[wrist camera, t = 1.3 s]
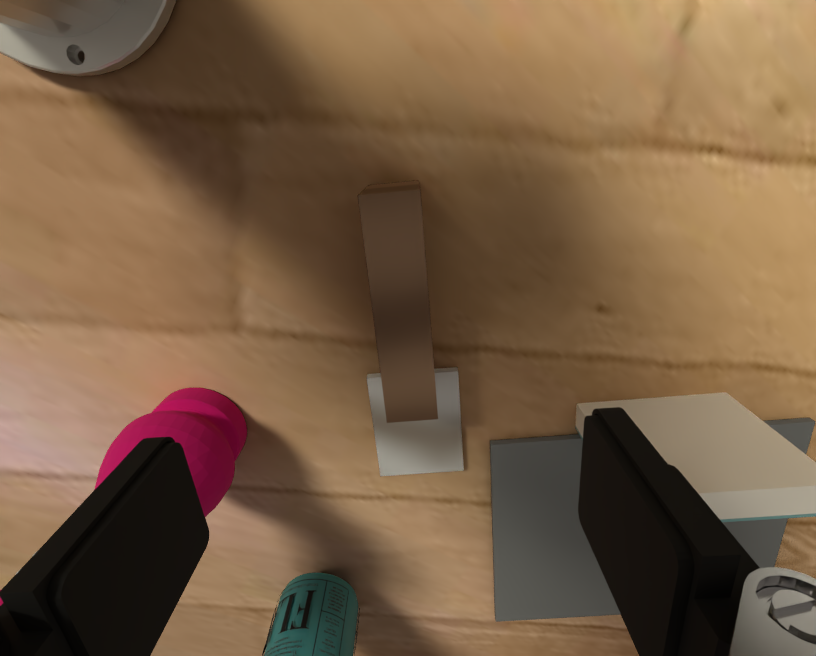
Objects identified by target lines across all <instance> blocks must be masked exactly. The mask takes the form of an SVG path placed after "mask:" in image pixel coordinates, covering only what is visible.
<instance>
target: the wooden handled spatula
mask: <svg viewBox="0 0 816 656" xmlns="http://www.w3.org/2000/svg"><path fill="white" fill-rule="evenodd" d="M358 200H359V208H360V216H361V224H362V232H363V240H364V247H365V255H366V263H367V271H368V279H369V287H370V295H371V302H372V310H373V318H374V326H375V334H376V342H377V350H378V358H379V365H380V373H375V374H367V384H368V391H369V398H370V405H371V412H372V419H373V427H374V434H375V441H376V448H377V455H378V462H379V469H380V476H392V475H406V474H421V473H435V472H450V471H464V467H463V449H462V431H461V413H460V395H459V377H458V368H457V367H451V368H438V369H434V359H433V346H432V333H431V320H430V308H429V295H428V282H427V269H426V256H425V243H424V230H423V217H422V205H421V192H420V186H419V181H418V180H416V181H405V182H394V183H384V184H373V185H369V186H368V187H367V188H365V189H364V190H363V191H362V192H361V193H360V194H359V195H358Z"/></svg>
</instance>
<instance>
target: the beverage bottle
mask: <svg viewBox="0 0 816 656" xmlns="http://www.w3.org/2000/svg"><path fill="white" fill-rule="evenodd" d="M282 592H283V593H282ZM282 592H281V593H282V595H281V597H280V599H279V600H280V601H279V600H278V601H279V605H278V608H277V612H276V611H274V612H275V618H274V614H273V618H274V621H273V618H272V621H273V624H272V622H271V625H272V627H271V626H270V629H269V633H268V637H267V641H266V645H265V647H264V650H263V653H264V651H265V649H266V651H265V654H264V656H353V653H354V654H355V652H353V651H354V648H355V646H354V642H355V634H356V632H357V631H356V624H357V621H358V622H359V619H358V620H357V615H358V601H357V596H356V593H355V591H354V590H353V588H352V587H351V586H350V585H349V584H348V583H347V582H346V581H344V580H343V579H341V578H339V577H337V576H334V575H331V574H326V573H307V574H303V575H300V576H298V577H296V578H295V579H293V580H292V581H291V582H289V584H288V585H287V586H286V588H285V589H284V590H283V591H282ZM279 596H280V595H279ZM359 609H360V608H359ZM275 610H276V608H275ZM359 615H360V614H359ZM358 618H359V616H358ZM358 625H359V624H357V627H358ZM357 634H358V632H357ZM357 634H356V636H357ZM356 638H357V637H356ZM356 644H357V639H356V643H355V645H356ZM355 649H356V648H355ZM262 656H263V654H262Z"/></svg>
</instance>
